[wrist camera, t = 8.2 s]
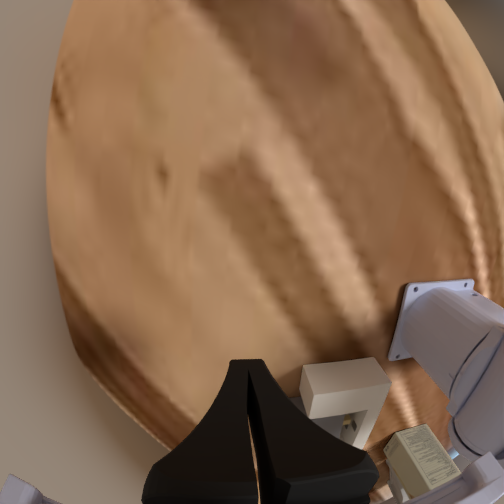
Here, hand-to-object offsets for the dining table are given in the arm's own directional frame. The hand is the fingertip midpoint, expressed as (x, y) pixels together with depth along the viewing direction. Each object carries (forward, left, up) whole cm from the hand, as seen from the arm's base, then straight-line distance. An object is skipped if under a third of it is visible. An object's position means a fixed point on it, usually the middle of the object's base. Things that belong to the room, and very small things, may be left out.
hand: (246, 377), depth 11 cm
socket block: (-9, +14, -10) cm, 19 cm away
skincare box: (-23, +24, -10) cm, 35 cm away
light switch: (-25, +35, -10) cm, 44 cm away
